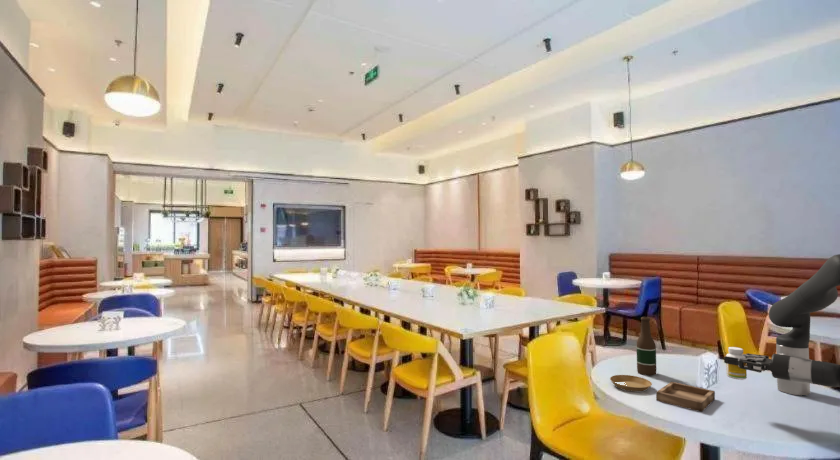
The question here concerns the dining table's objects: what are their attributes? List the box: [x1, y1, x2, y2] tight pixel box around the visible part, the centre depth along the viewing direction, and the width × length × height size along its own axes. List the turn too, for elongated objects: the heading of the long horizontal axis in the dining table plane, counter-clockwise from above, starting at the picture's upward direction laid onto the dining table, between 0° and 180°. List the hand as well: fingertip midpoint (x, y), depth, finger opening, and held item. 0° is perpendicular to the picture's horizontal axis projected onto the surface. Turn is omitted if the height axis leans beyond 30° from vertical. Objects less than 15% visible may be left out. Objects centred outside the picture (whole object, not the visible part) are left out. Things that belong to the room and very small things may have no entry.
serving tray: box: [655, 381, 716, 413], centre depth 152 cm, size 16×14×3 cm
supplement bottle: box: [725, 346, 748, 381], centre depth 142 cm, size 5×5×10 cm
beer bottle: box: [636, 316, 657, 377], centre depth 183 cm, size 8×8×24 cm
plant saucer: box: [609, 374, 653, 393], centre depth 166 cm, size 15×15×3 cm
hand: (726, 357), depth 144 cm, fingers closed on supplement bottle, 5 cm apart
